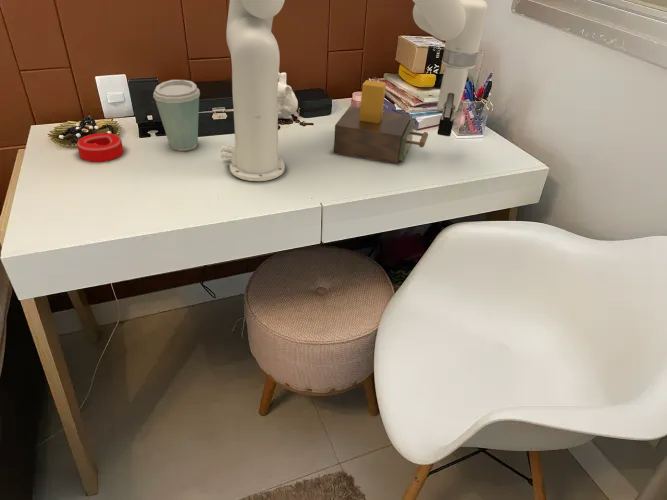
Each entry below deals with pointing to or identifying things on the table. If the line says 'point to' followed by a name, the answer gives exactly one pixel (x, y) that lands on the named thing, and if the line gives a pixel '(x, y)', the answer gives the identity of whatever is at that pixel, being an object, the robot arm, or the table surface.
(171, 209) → the table surface
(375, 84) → the block
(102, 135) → the decorative ornament
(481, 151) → the table surface
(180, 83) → the disposable coffee cup
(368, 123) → the cabinet
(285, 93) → the white figurine
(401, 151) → the drawer
